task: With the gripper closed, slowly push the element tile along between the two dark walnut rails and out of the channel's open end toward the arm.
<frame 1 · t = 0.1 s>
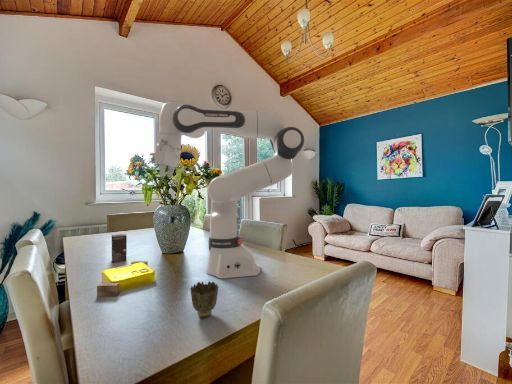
hand: (166, 176, 99), 39 cm above the table, tool pointing down, fingers open, 8 cm apart
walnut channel: (128, 280, 90), on the table
element tile: (128, 282, 90), on the table
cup: (204, 316, 66), on the table
box: (119, 261, 114), on the table
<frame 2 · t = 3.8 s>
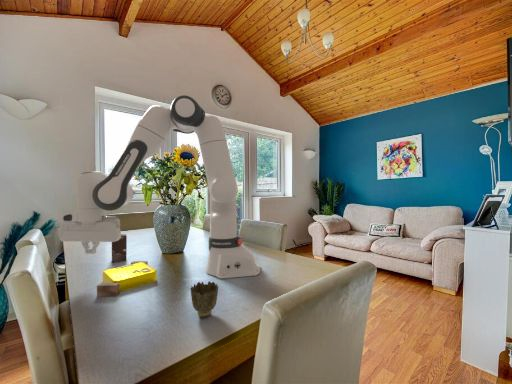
hand: (90, 253, 89), 10 cm above the table, tool pointing down, fingers closed
nothing on the table moved.
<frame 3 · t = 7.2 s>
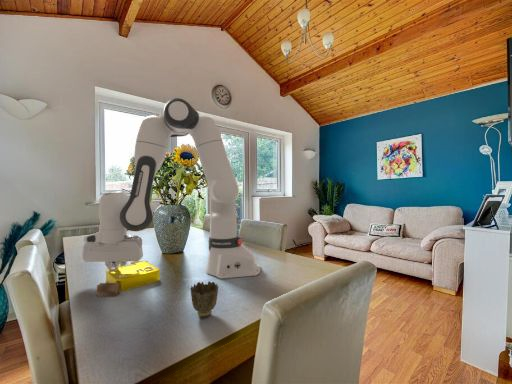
hand: (113, 273, 90), 3 cm above the table, tool pointing down, fingers closed
element tile: (133, 281, 91), on the table, touching gripper
everything else where it was.
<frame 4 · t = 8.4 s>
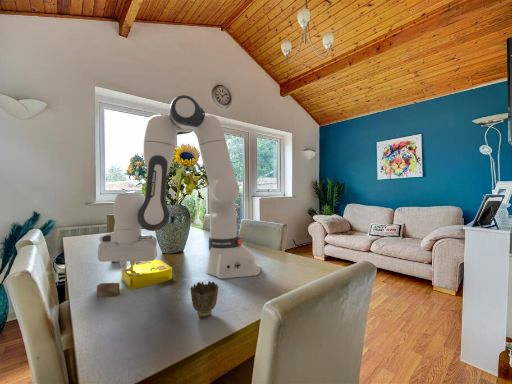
hand: (128, 272, 90), 3 cm above the table, tool pointing down, fingers closed
element tile: (146, 279, 93), on the table, touching gripper
everything else where it was.
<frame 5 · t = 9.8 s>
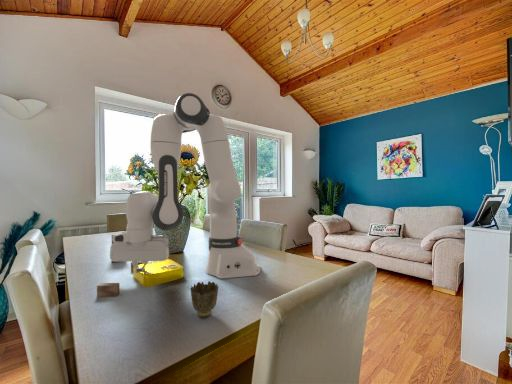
hand: (140, 272, 90), 3 cm above the table, tool pointing down, fingers closed
element tile: (158, 278, 94), on the table, touching gripper
everything else where it was.
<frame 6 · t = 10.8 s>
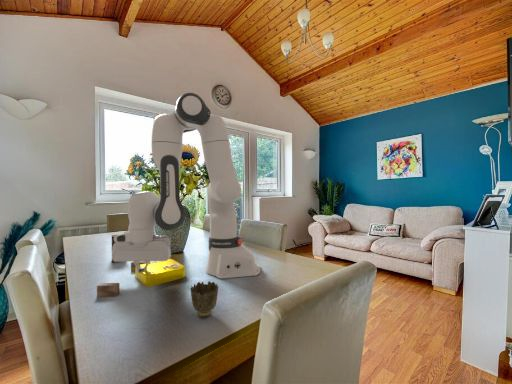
hand: (142, 272, 90), 3 cm above the table, tool pointing down, fingers closed
element tile: (160, 277, 95), on the table
everything else where it was.
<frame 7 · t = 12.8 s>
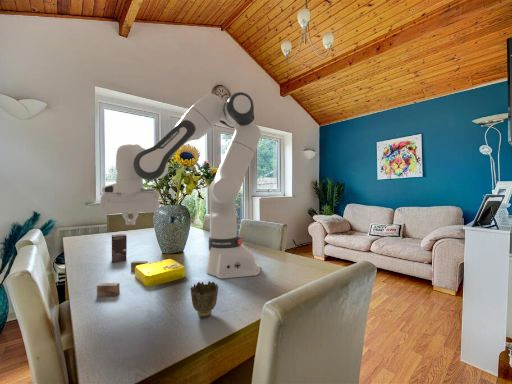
hand: (130, 224, 92), 21 cm above the table, tool pointing down, fingers closed
nothing on the table moved.
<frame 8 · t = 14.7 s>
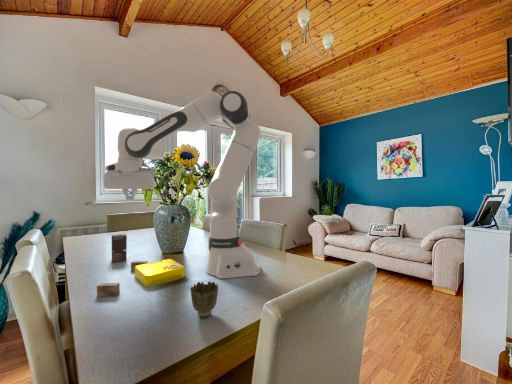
hand: (130, 199, 104), 29 cm above the table, tool pointing down, fingers closed
nothing on the table moved.
at the end: element tile inside the target area (6.4 cm from its centre), on the table; element tile moved 10.8 cm from its start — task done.
